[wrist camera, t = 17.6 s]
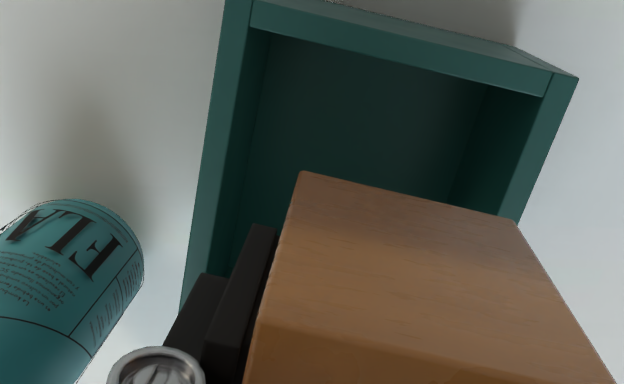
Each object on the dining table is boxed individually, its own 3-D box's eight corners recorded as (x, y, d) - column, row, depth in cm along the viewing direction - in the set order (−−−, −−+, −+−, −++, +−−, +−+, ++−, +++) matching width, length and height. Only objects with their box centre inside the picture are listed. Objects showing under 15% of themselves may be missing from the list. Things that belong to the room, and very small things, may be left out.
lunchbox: (263, -15, 22) (226, -8, 15) (515, 47, 22) (580, 78, 16) (213, 267, 27) (171, 357, 21) (417, 314, 27) (436, 418, 21)
